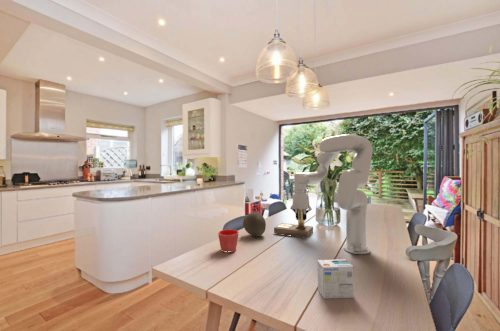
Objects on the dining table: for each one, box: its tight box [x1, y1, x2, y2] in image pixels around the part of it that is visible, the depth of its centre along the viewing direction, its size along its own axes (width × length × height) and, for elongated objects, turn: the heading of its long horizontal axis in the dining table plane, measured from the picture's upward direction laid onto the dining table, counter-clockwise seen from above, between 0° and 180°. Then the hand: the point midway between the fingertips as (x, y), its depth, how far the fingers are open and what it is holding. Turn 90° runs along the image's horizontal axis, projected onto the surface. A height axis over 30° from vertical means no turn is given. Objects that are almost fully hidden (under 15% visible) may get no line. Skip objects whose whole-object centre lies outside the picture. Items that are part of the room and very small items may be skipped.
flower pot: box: [217, 229, 239, 252], centre depth 125 cm, size 11×11×10 cm
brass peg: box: [297, 209, 305, 230], centre depth 151 cm, size 4×4×14 cm
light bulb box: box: [316, 258, 355, 299], centre depth 81 cm, size 11×7×11 cm, turn 92°
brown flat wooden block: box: [273, 222, 314, 239], centre depth 154 cm, size 14×22×4 cm, turn 61°
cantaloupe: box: [242, 212, 267, 237], centre depth 149 cm, size 14×14×15 cm
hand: (301, 219), depth 151 cm, fingers closed on brass peg, 4 cm apart
